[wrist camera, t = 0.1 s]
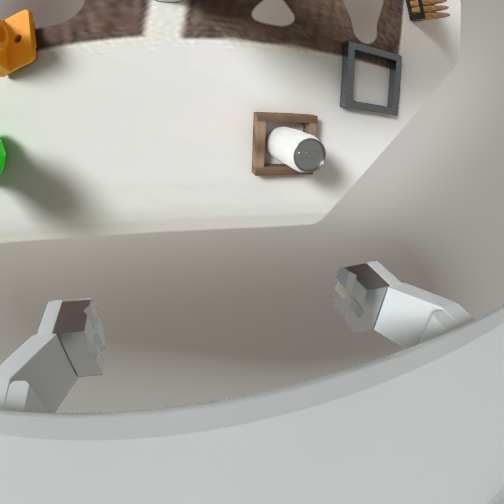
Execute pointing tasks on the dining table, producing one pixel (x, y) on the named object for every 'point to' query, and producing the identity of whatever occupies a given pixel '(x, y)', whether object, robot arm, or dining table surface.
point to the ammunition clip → (425, 9)
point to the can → (296, 149)
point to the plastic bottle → (2, 156)
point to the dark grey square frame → (348, 77)
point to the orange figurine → (17, 42)
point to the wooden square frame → (259, 140)
